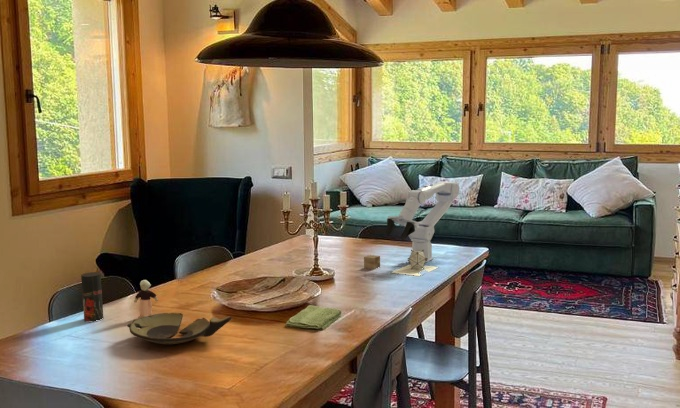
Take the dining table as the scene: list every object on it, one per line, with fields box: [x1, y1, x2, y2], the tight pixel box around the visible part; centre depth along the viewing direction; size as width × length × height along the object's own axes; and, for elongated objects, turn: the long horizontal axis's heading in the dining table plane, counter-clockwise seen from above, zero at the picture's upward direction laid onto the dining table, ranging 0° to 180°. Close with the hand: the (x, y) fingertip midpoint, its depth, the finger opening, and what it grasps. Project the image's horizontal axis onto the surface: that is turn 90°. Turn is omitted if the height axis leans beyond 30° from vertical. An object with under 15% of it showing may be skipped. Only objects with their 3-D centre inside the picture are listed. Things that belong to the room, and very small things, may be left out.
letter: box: [391, 263, 439, 277], centre depth 278 cm, size 18×13×1 cm
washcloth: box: [285, 304, 342, 331], centre depth 211 cm, size 13×18×3 cm
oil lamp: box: [126, 312, 233, 346], centre depth 194 cm, size 22×30×8 cm
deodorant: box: [80, 271, 104, 322], centre depth 216 cm, size 6×6×15 cm
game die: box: [407, 249, 428, 269], centre depth 279 cm, size 9×8×10 cm
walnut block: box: [363, 254, 381, 270], centre depth 284 cm, size 5×5×5 cm
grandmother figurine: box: [133, 279, 159, 319], centre depth 217 cm, size 8×4×13 cm, turn 105°
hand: (394, 237), depth 279 cm, fingers open, 7 cm apart
